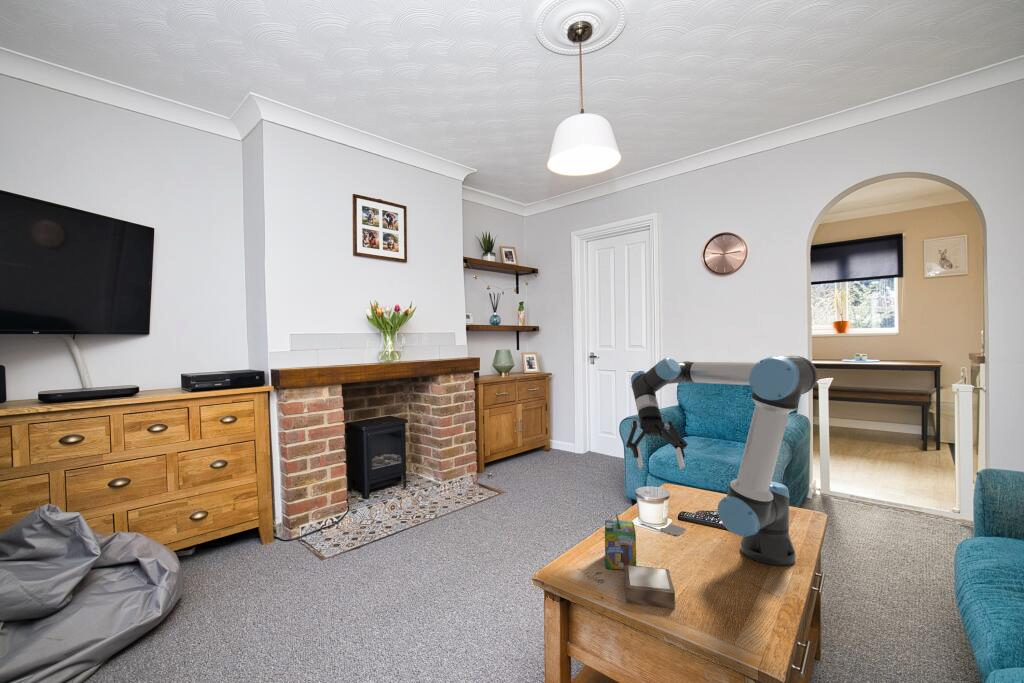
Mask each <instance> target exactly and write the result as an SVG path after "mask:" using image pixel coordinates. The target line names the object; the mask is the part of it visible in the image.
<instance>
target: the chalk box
mask: <svg viewBox="0 0 1024 683" xmlns="http://www.w3.org/2000/svg"><path fill="white" fill-rule="evenodd" d="M615 518H616V519H613V520H612V519H605V520H604V566H605V569H607V570H619V571H620V570H621V571H625V565H632V566H637V535H636V528H635V523H634V522H633V521H626V520H620V519H619V516H618V513H617V512H615Z"/></svg>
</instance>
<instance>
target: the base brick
mask: <svg viewBox="0 0 1024 683" xmlns="http://www.w3.org/2000/svg"><path fill="white" fill-rule="evenodd" d="M624 589H625V600H626V602H625V603H626V604H634V605H642V606H652V607H661V608H668V609H676V593H675V589H674V584H673V581H672V576H671V572H670V569H669V568H661V567H652V566H651V567H650V566H639V565H636V566H632V565H625V570H624Z"/></svg>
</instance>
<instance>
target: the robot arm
mask: <svg viewBox="0 0 1024 683" xmlns="http://www.w3.org/2000/svg"><path fill="white" fill-rule="evenodd" d="M818 378H819V375H818V370H817V368H816V366H815V364H814V363H813V362H812V361H810V360H809V359H808V358H806V357H804V356H799V355H784V356H783V355H782V356H781V355H773V356H769V357H766V358H763V359H760V360H759V361H687V360H686V361H679V362H677V361H676V360H675V359H673V358H671V357H665V358H663V359H661V360H660V361H658V362H657V363H656V364H655V365H654V366H653V367H651V368H650V369H649V370H648V371H646V370H638V371H637V372H636V371H635V372H634V373H633V374H632V375H631V377H630V382H631V390H632V393H633V397H634V400H635V407H636V410H637V416H638V420H639V422H638V421H637V420H633V421H632V422H631V430H630V432H629V433H630V434H629V436H628V438H627V441H626V445H625V447H626V448H627V449H629V448H630V450H631V451H632V455H633V458H634V459H636V461H637V465H638V469H643V467H644V462H643V457H642V451H641V446H640V445H639V444H640V443H641V441H642V440H643V439H644V437H646V435H647V436H657V437H658V436H659V437H660V438H663V439H664V440H665V441H666V442H668V444H670V445H671V446H672V447H673V448H675V450H674V451H675V456H676V459H677V463H678V467H679V470H683V469H684V468H685V467H686V464H685V461H684V459H685V457H686V456H685V452H684V451H685V450H686V448H687V447H688V442H687V441H686V440H685V439H684V438H683V437H682V435H681V434H680V433H679V431H678V430H677V429H676V428H675V426H674V424H673V423H672V421H671V420H670V421H668V422H665V423H664V422H663V419H662V414H661V410H660V405H659V402H658V398H657V394H656V392H657V391H659V390H660V389H662V388H664V387H665V386H667V385H671V384H679V383H680V384H681V383H686V384H687V383H692V384H714V385H715V384H718V385H739V386H750V387H751V390H752V392H751V396H750V397H751V398H750V399H751V400H752V401H753V403H754V404H755V406H754V410H753V413H752V418H751V422H750V426H749V430H748V434H747V437H746V442H745V446H744V449H743V454H742V458H741V462H740V466H739V470H738V474H737V476H736V477H737V478H735V479H733V480H731V481H730V482H729V486H728V490H727V494H726V496H724V497H723V498H721V500H720V501H719V502H718V504H717V515H718V518H719V520H720V521H721V522H722V523H721V524H722V525H723V526H724V527H725V528H726V529H727V531H729V532H730V533H732V534H734V535H736V536H738V537H742V538H741V541H740V551H741V553H742V554H744V556H746V557H747V558H749V559H752V560H754V561H756V562H759V563H762V564H767V565H770V566H771V565H772V566H781V567H782V566H790V565H792V564H794V563H795V562H796V549H795V547H794V545H793V542H792V539H791V536H790V531H789V528H790V492H789V488H788V486H786V485H785V484H783V483H780V482H776V481H772V480H773V476H774V473H775V468H776V465H777V461H778V457H779V453H780V450H781V447H782V442H783V438H784V435H785V431H786V427H787V423H788V419H789V415H790V413H792V412H795V411H797V409H798V408H799V405H800V404H799V403H800V400H801V395H805V394H806V393H808V392H811V390H813V388H815V386H816V384H817V382H818ZM639 428H640V429H641V430H642V431H641V433H640V434H639V435H638V437H637V438H636V439H635V441H634V442H633V440H634V437H635V434H636V432H637V431H636V430H637V429H639Z"/></svg>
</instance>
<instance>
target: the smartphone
mask: <svg viewBox="0 0 1024 683" xmlns="http://www.w3.org/2000/svg"><path fill="white" fill-rule="evenodd" d="M660 530H661V531H660V532H662V531H663V533H665V532H667V533H666V534H668V533H670V534H669V535H671V534H673V535H672V536H674V535H676V536H675V537H679V536H681V535H682V533H683V532H684V531H686V532H687V528H686V527H683V526H679V525H676V524H674V523H673V524H672V523H670V525H669V526H668V527H666V528H661V529H660ZM684 533H685V532H684ZM684 533H683V534H684ZM680 534H681V535H680ZM678 535H679V536H678Z"/></svg>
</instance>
